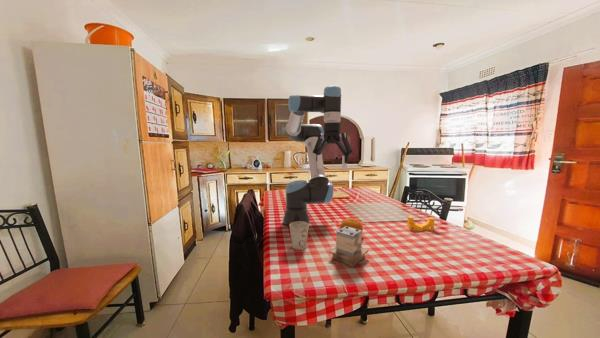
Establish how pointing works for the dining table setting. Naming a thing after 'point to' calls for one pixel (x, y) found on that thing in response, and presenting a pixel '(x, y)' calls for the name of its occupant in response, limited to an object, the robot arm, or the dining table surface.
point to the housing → (348, 241)
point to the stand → (346, 258)
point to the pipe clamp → (420, 227)
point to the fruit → (352, 224)
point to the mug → (299, 234)
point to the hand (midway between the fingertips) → (331, 169)
